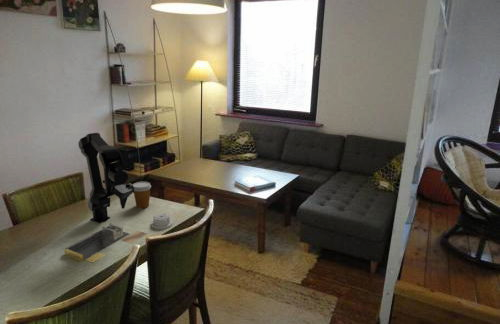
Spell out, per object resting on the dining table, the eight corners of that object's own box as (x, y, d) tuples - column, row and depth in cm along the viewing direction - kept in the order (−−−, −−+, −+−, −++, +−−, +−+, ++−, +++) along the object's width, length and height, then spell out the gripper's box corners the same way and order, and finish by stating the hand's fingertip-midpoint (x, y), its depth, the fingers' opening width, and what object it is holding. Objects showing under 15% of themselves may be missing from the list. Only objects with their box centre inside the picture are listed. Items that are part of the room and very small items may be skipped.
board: (120, 240, 150) (120, 240, 150) (137, 230, 159) (137, 230, 159) (130, 243, 148) (130, 243, 148) (147, 234, 156) (147, 233, 156)
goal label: (85, 260, 135) (85, 259, 135) (98, 252, 140) (98, 252, 140) (92, 262, 133) (92, 262, 133) (105, 255, 139) (105, 255, 138)
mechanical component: (147, 228, 162) (167, 231, 160) (146, 219, 160) (166, 222, 159) (156, 219, 171) (176, 221, 169) (156, 211, 170) (175, 213, 168)
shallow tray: (62, 254, 138) (62, 249, 138) (113, 228, 160) (112, 224, 159) (80, 261, 134) (80, 256, 133) (130, 234, 155) (129, 229, 155)
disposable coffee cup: (136, 202, 190) (135, 181, 186) (154, 202, 190) (153, 181, 186) (130, 209, 181) (128, 187, 177) (149, 210, 180) (147, 188, 177)
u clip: (102, 237, 152) (101, 227, 151) (111, 232, 156) (110, 223, 155) (114, 241, 149) (113, 231, 148) (123, 236, 153) (122, 226, 152)
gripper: (107, 188, 136) (110, 225, 140) (142, 175, 151) (144, 208, 156) (87, 183, 141) (91, 218, 145) (123, 170, 156) (126, 203, 161)
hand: (114, 212), depth 152 cm, fingers open, 9 cm apart
